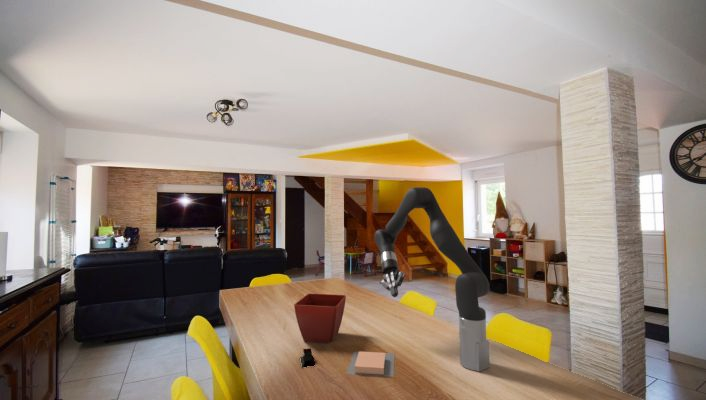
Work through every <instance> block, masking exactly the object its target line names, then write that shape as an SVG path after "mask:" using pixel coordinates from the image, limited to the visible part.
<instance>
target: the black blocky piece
mask: <svg viewBox="0 0 706 400" xmlns="http://www.w3.org/2000/svg"><path fill="white" fill-rule="evenodd" d="M302 350H303V351H302V356H299V357H300V358H301V363H302V367H306V368H308V367H307V366H314V365H315V363H316V360H315V357H313V356H314V355H313V352H312V349H311V347H310V348H303V349H302ZM312 355H313V356H312ZM300 358H299V359H300ZM314 360H315V361H314ZM315 366H316V365H315ZM315 366H314V367H315Z"/></svg>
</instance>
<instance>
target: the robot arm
mask: <svg viewBox="0 0 706 400" xmlns="http://www.w3.org/2000/svg"><path fill="white" fill-rule="evenodd" d="M415 209H423V210H424V211H425V213H426V215H427V216H428V219H429V233H430V238H431V239H432V241H433V243H434V244H435V246H436V248H437V249H438V251H439V252H440V253H442V255H443V256H445V257H446V258H447V259H448V260H450V261H451V262H452V263H453V264H454V265H455V266H456V267H457V268H458V269H459V271H460V272H461V274H459V275H458V276H457V277H456V280H455V282H454V283H455V285H454V287H455V290H454V291H455V301H456V303H455V304H456V308H457V311H458V323H459V324H458V326H459V327H458V328H459V334H458V335H459V361H460V362H459V363H460V366H462V367H463V368H465V369H468V370H471V371H476V372H478V373H479V372H481V371H484V370H487V369H489V368H490V367H491V366H490V364H491V363H490V341H489V340H488V339H487V315H486V314H487V312H486V309H484V308H482V307H480V305H479V298H482V297H484V296H486V295H488V294H489V292H490V282H489V280H488V277H487V275H486V274H485V273H484V272H483V270H482V269H481V268H480V267H479V266H478V264H477V263H476V261H475V260H474V259H473V258H472V256H471V255H470V253H469V252H468V250H467V249H466V247H465V245H464V244H463V243H462V241H461V239H460V237H459V236H458V235H457V233H456V231H455V230H454V228H453V226H452V225H451V223H450V222H449V221H448V218H447V217H446V216H445V214H444V212H443V210H442V209H441V207H440V204H439V203H438V201H437V198H436V196H435V195H434V193H433V191H432V190H431V189H430V188H428V187H425V186H424V187H421V186H420V187H418V186H416V187H410V188H409V189H408V190H407V192H406V194H404V197H403V199H402V201H401V202H400V204H399V207H398V208H397V210H396V212H395V213H394V214H393V216H392V217H391V219H390V220H389V221H388V222H387V224H385V229H381V228H380V229H377V230H376V231H375V233H374V242H375V244H376V246H377V248H378V250H379V253H380V263H381V271H382V274H383V275H382V280H381V281H378V284H379V285H380V286H381V287H383V288H385V290H387V291H390V295H391V296H392V297H393V298H397V297H398V295H399V291H398V288H399V287H400V286H402V284H403V282H404V279H405V277H406V273H405V272H404V271H400V268H399V263H398V258H397V254H396V251H395V246H394V244H395V242H396V240H397V239H398V238H397V237H398V235H399V234H400V232H401V231H402V230H403V229H404V228H405V226H406V225H407V221H408V215H409V214H410V213H411V211H413V210H415ZM386 283H387V284H388V285H387V284H386Z"/></svg>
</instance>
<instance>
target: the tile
mask: <svg viewBox="0 0 706 400" xmlns="http://www.w3.org/2000/svg"><path fill="white" fill-rule="evenodd" d="M358 352H359V353H358V357H357V360H356V363H355V373H364V374H380V375H384V368H385V353H386V352H375V351H358Z"/></svg>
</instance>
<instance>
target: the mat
mask: <svg viewBox="0 0 706 400" xmlns="http://www.w3.org/2000/svg"><path fill="white" fill-rule="evenodd" d="M358 353H359V351H353V353H352V357H351V360H350V362H349V365H348V369H347V371H346V375H353V376H354V375H355V376H366V377H367V376H368V377H383V378H394V376H395V375H394V374H395V372H394V371H395V353H388V352H387V353H386V352H384V353H385V368H384V375H380V374H364V373H355V363H356V360H357V357H358Z"/></svg>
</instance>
